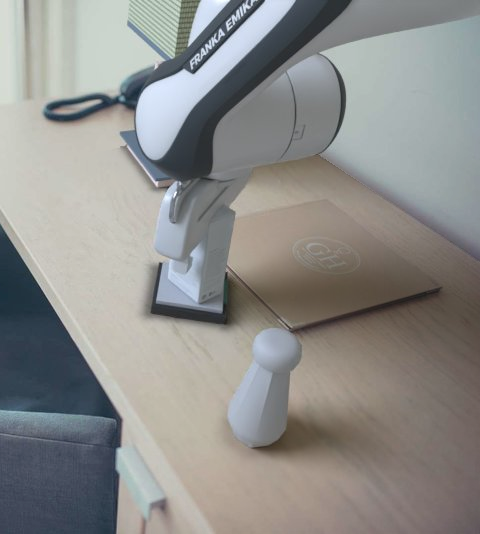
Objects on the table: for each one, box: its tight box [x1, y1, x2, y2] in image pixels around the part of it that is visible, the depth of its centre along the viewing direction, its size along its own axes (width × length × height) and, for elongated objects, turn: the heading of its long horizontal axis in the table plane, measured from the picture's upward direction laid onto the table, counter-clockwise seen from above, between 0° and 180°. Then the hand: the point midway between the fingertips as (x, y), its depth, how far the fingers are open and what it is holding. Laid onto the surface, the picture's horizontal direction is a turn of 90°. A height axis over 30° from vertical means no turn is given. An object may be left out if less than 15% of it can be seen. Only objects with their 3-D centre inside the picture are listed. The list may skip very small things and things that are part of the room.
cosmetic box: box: [168, 205, 237, 304], centre depth 77 cm, size 6×4×12 cm
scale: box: [150, 261, 229, 325], centre depth 81 cm, size 9×9×2 cm
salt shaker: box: [227, 327, 303, 449], centre depth 61 cm, size 6×6×13 cm
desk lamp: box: [119, 0, 201, 189], centre depth 99 cm, size 18×14×33 cm
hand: (198, 249), depth 77 cm, fingers open, 8 cm apart
